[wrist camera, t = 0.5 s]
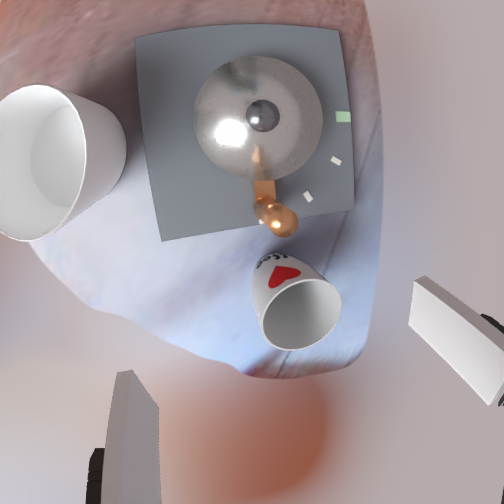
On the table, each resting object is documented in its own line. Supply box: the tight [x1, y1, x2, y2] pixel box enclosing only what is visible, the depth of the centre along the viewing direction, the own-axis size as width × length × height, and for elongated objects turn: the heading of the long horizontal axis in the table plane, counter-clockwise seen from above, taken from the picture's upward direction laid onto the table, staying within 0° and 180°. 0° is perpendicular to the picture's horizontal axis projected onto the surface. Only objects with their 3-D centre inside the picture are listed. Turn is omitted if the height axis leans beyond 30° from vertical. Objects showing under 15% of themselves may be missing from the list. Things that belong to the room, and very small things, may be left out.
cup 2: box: [252, 253, 342, 351], centre depth 30 cm, size 8×8×10 cm
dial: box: [193, 56, 323, 237], centre depth 23 cm, size 16×12×6 cm
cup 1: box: [0, 83, 127, 242], centre depth 19 cm, size 12×12×12 cm
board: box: [135, 24, 354, 242], centre depth 26 cm, size 22×22×2 cm
